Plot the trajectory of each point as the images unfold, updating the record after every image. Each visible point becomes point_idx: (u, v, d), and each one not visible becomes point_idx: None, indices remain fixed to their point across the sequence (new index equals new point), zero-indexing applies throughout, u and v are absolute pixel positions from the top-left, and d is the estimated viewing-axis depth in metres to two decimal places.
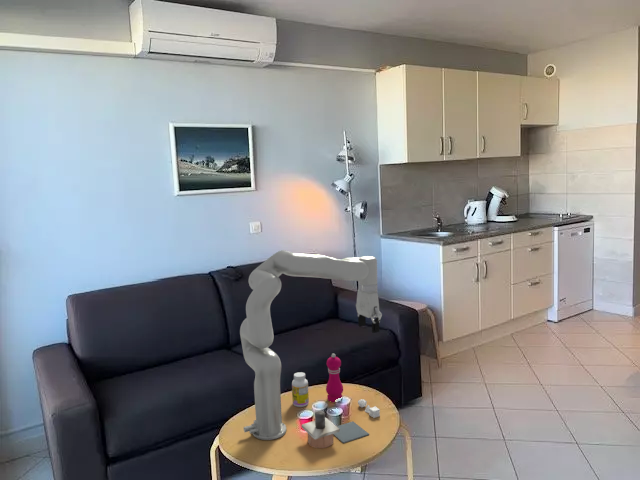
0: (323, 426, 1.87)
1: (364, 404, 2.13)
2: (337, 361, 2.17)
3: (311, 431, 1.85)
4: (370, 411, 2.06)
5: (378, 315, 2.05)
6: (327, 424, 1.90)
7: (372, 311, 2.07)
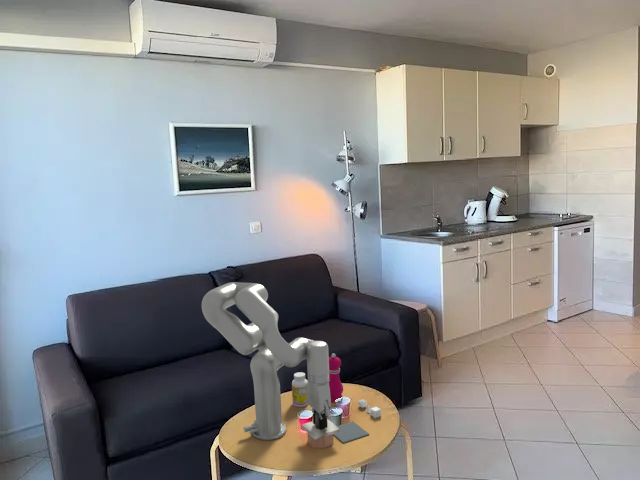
0: None
1: (364, 404, 2.12)
2: (337, 361, 2.17)
3: (311, 431, 1.85)
4: (371, 411, 2.06)
5: (326, 414, 1.82)
6: (327, 424, 1.90)
7: (322, 405, 1.81)
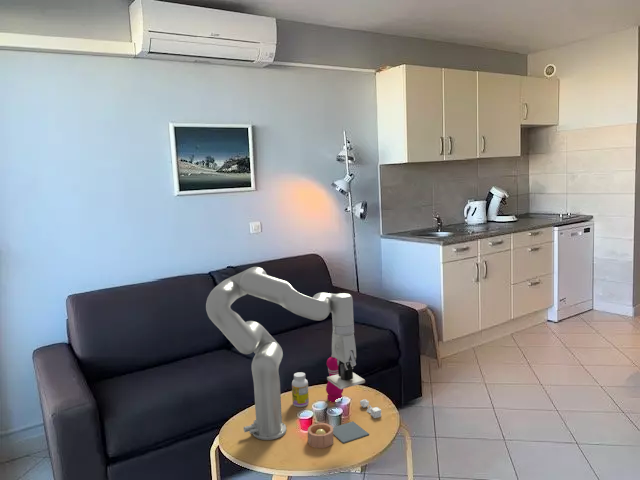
0: None
1: (366, 404, 2.12)
2: None
3: (337, 382, 1.88)
4: (371, 411, 2.06)
5: (351, 364, 1.84)
6: None
7: (348, 356, 1.84)
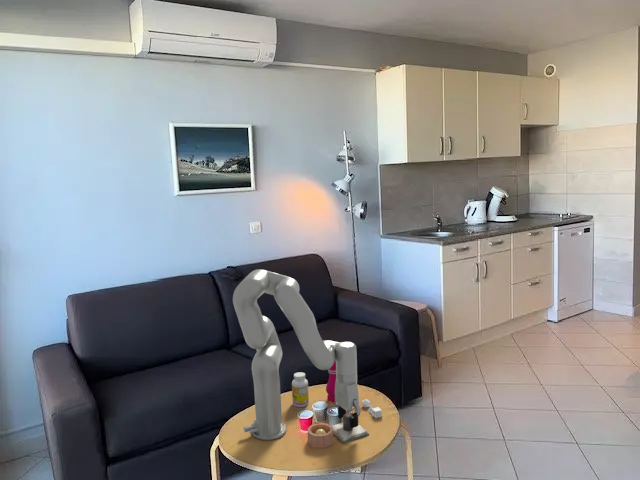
0: (351, 428, 1.93)
1: (368, 404, 2.12)
2: None
3: (339, 433, 1.91)
4: (372, 411, 2.06)
5: (357, 411, 1.86)
6: None
7: (351, 404, 1.87)
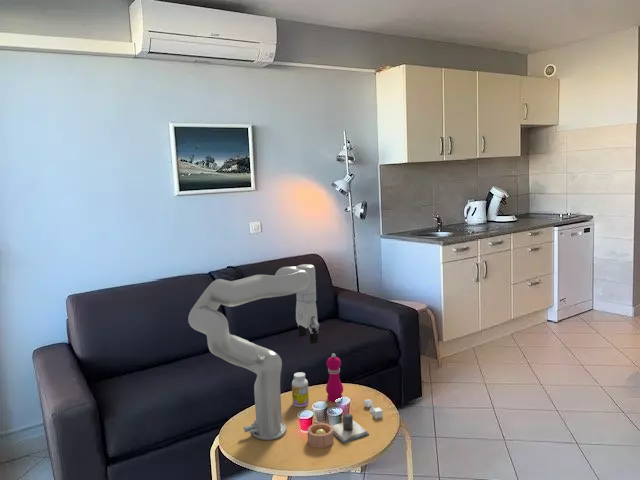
0: (351, 428, 1.93)
1: (369, 404, 2.12)
2: (337, 361, 2.17)
3: (339, 433, 1.91)
4: (373, 411, 2.05)
5: (315, 325, 1.98)
6: (354, 426, 1.96)
7: (309, 321, 1.99)
